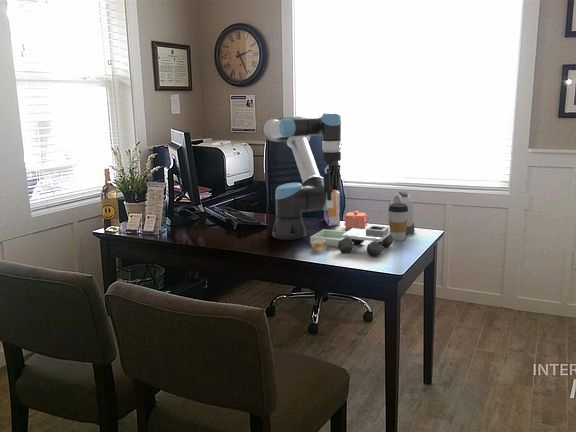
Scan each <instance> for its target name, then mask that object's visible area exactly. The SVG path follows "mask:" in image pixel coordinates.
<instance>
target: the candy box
mask: <svg viewBox="0 0 576 432" xmlns="http://www.w3.org/2000/svg"><path fill="white" fill-rule="evenodd" d="M323 211H324V212H323V213H324V214H323V215H324V218H323V219H324V221H325V223H326V224H327V226H329V227H339V226H340V225H341V224H340V222H341V219H340V218H341V216H340V215H341V192H340V190H339V191H337V206H336V217H328V209H325V210H323Z"/></svg>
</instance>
